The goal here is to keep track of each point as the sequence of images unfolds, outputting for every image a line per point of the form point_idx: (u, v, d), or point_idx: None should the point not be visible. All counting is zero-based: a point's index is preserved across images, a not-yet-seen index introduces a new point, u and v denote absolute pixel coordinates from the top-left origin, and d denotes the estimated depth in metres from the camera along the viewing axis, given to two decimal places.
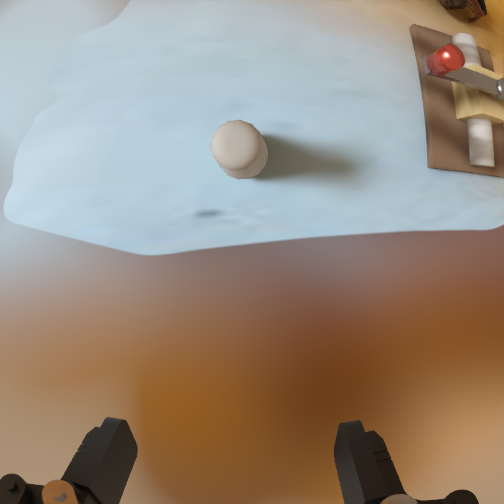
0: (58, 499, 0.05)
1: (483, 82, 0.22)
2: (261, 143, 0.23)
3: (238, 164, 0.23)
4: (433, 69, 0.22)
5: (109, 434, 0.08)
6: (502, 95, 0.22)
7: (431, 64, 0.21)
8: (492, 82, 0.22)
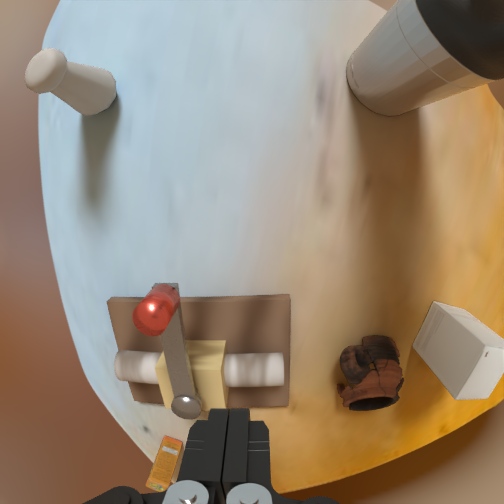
0: (190, 502, 0.06)
1: (176, 373, 0.25)
2: (38, 88, 0.17)
3: (25, 75, 0.16)
4: None
5: (221, 424, 0.09)
6: (173, 400, 0.26)
7: (154, 288, 0.22)
8: (185, 388, 0.26)
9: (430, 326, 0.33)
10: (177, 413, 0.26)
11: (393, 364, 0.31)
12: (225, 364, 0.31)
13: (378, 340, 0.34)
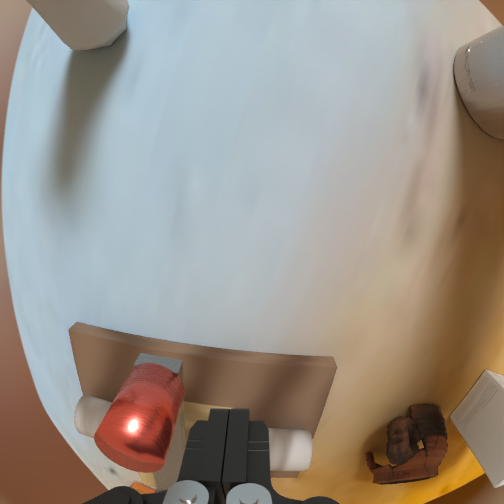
0: (190, 502, 0.06)
1: (165, 473, 0.14)
2: None
3: None
4: (130, 375, 0.11)
5: (221, 424, 0.09)
6: None
7: (139, 375, 0.11)
8: None
9: (477, 399, 0.22)
10: None
11: (442, 441, 0.20)
12: None
13: (428, 410, 0.23)
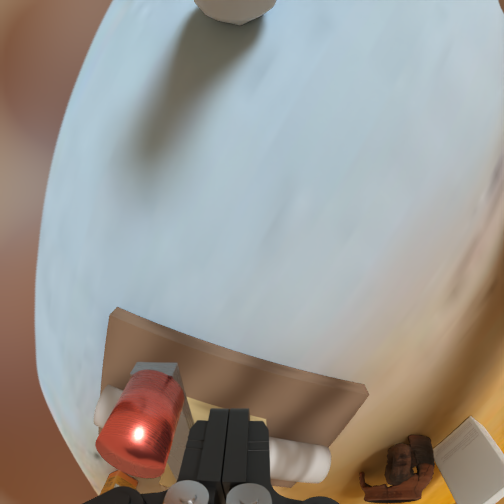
0: (190, 502, 0.06)
1: None
2: None
3: None
4: (127, 384, 0.11)
5: (221, 424, 0.09)
6: None
7: (134, 382, 0.11)
8: None
9: (458, 440, 0.24)
10: None
11: (431, 469, 0.22)
12: None
13: (423, 441, 0.25)
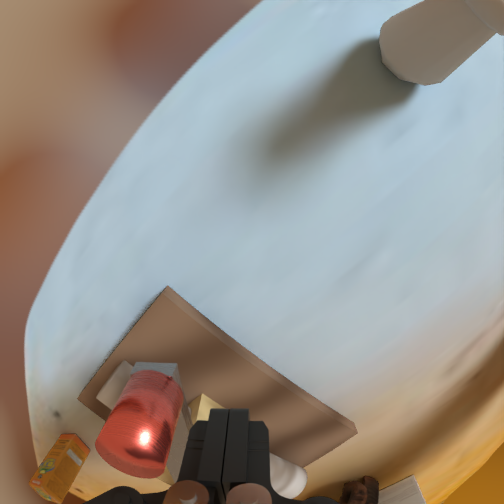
0: (190, 503, 0.06)
1: None
2: (493, 3, 0.05)
3: None
4: (127, 384, 0.11)
5: (221, 424, 0.09)
6: None
7: (134, 382, 0.11)
8: None
9: (398, 492, 0.27)
10: None
11: None
12: None
13: (374, 484, 0.27)
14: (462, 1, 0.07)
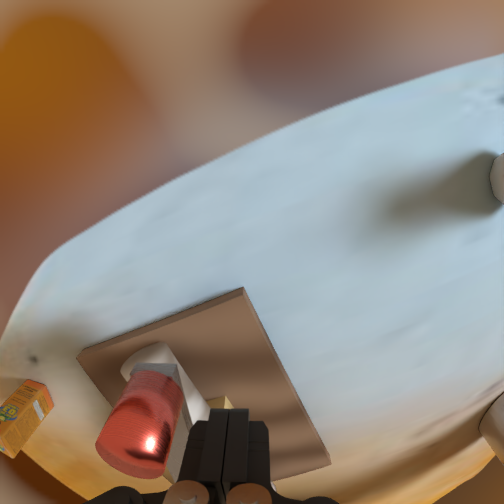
0: (190, 503, 0.06)
1: None
2: None
3: None
4: (127, 385, 0.11)
5: (221, 424, 0.09)
6: None
7: (133, 383, 0.11)
8: None
9: None
10: None
11: None
12: None
13: None
14: None
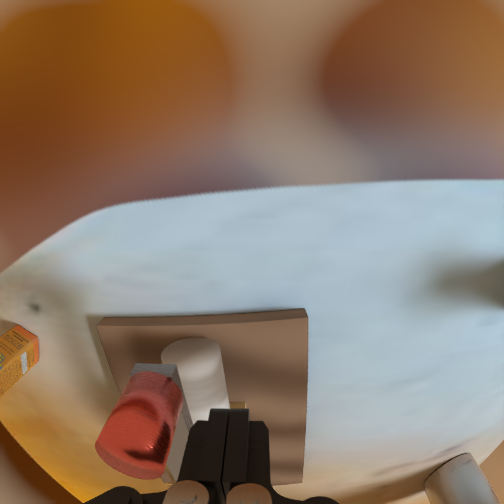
0: (190, 503, 0.06)
1: None
2: None
3: None
4: (126, 386, 0.11)
5: (221, 424, 0.09)
6: None
7: (133, 384, 0.11)
8: None
9: None
10: None
11: None
12: None
13: None
14: None
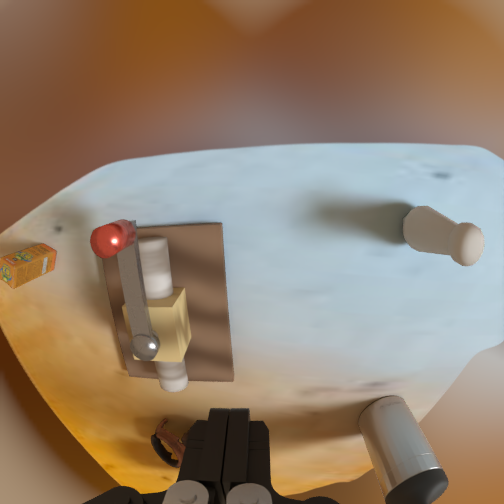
0: (190, 502, 0.06)
1: (133, 309, 0.28)
2: (456, 246, 0.23)
3: (473, 229, 0.23)
4: None
5: (221, 424, 0.09)
6: (132, 339, 0.28)
7: None
8: (141, 325, 0.28)
9: None
10: (136, 354, 0.29)
11: None
12: None
13: None
14: None
